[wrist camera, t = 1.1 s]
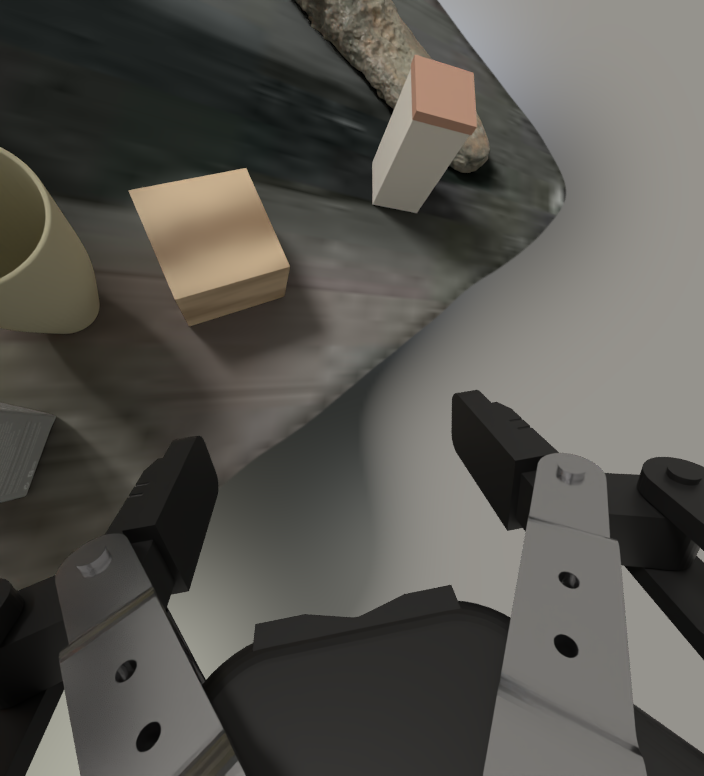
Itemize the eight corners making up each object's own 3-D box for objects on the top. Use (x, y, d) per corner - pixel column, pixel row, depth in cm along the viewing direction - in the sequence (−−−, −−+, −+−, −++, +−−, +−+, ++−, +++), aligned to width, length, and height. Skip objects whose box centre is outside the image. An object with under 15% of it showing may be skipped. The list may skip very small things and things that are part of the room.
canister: (371, 205, 38) (416, 110, 28) (371, 161, 39) (414, 54, 29) (417, 214, 40) (477, 127, 29) (416, 171, 41) (473, 72, 30)
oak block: (151, 237, 32) (128, 190, 26) (247, 214, 35) (246, 167, 29) (189, 327, 32) (175, 299, 26) (284, 297, 34) (290, 266, 29)
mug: (152, 275, 31) (94, 173, 20) (93, 376, 29) (-13, 326, 17) (19, 216, 29) (-131, 66, 18) (-57, 319, 27) (-288, 220, 15)
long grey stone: (443, 202, 43) (486, 165, 47) (471, 170, 38) (517, 132, 42) (237, -47, 39) (301, -66, 43) (239, -118, 34) (311, -134, 38)
